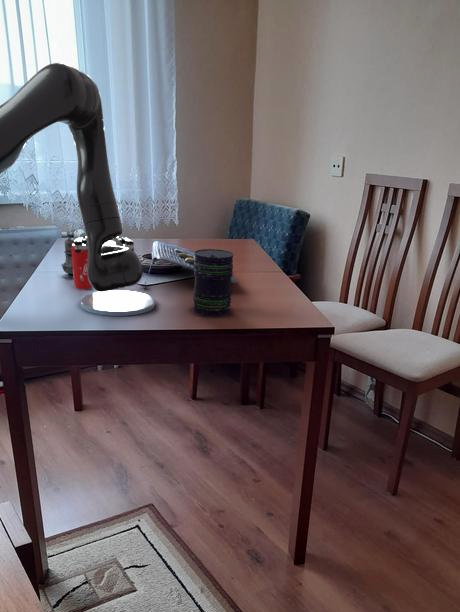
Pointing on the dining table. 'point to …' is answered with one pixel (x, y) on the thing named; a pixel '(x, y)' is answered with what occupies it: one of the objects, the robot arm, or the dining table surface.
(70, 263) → the pepper grinder
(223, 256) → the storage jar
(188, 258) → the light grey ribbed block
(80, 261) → the beverage can
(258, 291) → the dining table surface
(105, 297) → the plate
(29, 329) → the dining table surface
